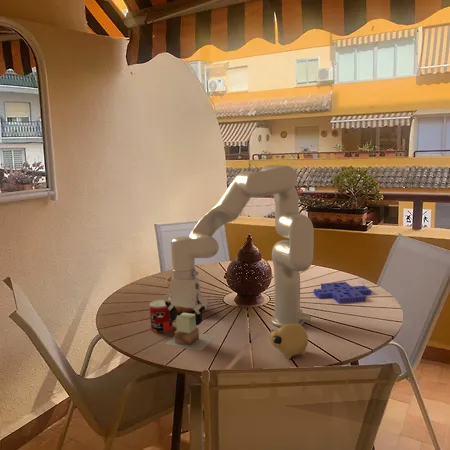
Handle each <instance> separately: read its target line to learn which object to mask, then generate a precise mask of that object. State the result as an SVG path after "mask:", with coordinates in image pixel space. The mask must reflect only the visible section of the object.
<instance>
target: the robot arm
mask: <svg viewBox="0 0 450 450" xmlns="http://www.w3.org/2000/svg"><path fill="white" fill-rule="evenodd" d="M297 182H298V173H297V171H296V170H295V168H293V167H292V166H290V165H281V164H280V165H279V164H268V165H265V166H264V167H262V168H261V170H260V171H259V170H258V171H251V170H244V171H241V172H238V174H237V175H236V176H234V178H233V180H231V182H230V184H229V185H228V187H227V188H226V190H225V191H224V192H223V195H222V196H220V199H219V200H218V202H217V203H216V204H215V206H213V207H212V208H210V209H209V210H208V211H207V213H205V214H204V215H203V216H202V217H201V218H200V219H199V220H198V222H197V223H196V225H195V226H194V228H193V229H192V230H191V232H190V234H189V236H177V237H174V238H173V239H172V240H171V241H170V242H171V243H170V245H171V246H170V247H171V248H170V249H171V251H170V252H171V267H172V268H171V269H172V275H173V277H172V278H171V284H170V290H169V293H167V294H164V295H163V296H162V300H164V302H165V305H166V306H167V307H168V310H170V318H171V321H172V323H173V322H175V321H176V317H178V313H177V309H176V308H175V306H179V307H186V308H193V309H194V312H195V313H194V314H195V320H196V325H197V326H199V325H200V324H201V323H202V322H203V312H204V311H205V310H206V309H207V307H208V304H209V303H210V302H209V300H208V299H206V298H205V297H203V296H202V294H201V293H202V292H201V287H200V285H201V284H200V282H199V278H198V276H199V272H198V271H196V265H195V264H196V263H195V261H196V260H195V259H210V258H213V257H214V256H215V255H217V253H218V252H219V249H220V246H219V242H218V241H217V240H216V239H215V238H214V237H213V235H215V233H216V232H217V231H218V230H219V229H220V228H221V227H222V226H224V225H226V224H228V223H231V222H233V221H235V220H237V218H239V216H240V215H241V213H242V211H243V210H244V208H245V207H246V206H247V204H248V203H249V201H250V200H251V198H261V197H267V196H271V195H272V196H273V199H274V206H275V208H274V211H275V212H274V218H275V219H274V225H275V226H274V227H275V232H276V234H278V235H279V236H280V237H283V238H286V239H282V240H279V241H277V242H275V244H274V245H273V246H272V251H271V260H272V264H273V265H272V266H273V273H274V315H272V316H271V318H270V322H271V324H272V325H274V326H276V327H278V328H280V327H282V326H284V325H287V324H292V323H297V324H300V325H301V326H302V325H304V324H305V322H311V321H312V316H311V315H310V314H308V313H304V312H303V309H302V308H301V276H300V272H301V273H302V272H305V271H307V270H309V268H310V267H311V266H312V263H313V261H314V250H315V249H314V247H315V246H314V245H315V242H314V239H315V237H314V236H315V233H314V230H315V229H314V225H313V222H312V220H311V219H310V218H309V216H307V215H304V214H302V213H300V207H299V204H300V203H299V195H298V192H297V189H296V184H297ZM168 298H170V301H169V299H168ZM201 304H202V305H201Z"/></svg>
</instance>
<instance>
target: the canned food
mask: <svg viewBox="0 0 450 450" xmlns="http://www.w3.org/2000/svg"><path fill="white" fill-rule="evenodd" d="M149 316H150V331H151V332H152V333H155V334H163V333H168V332H170V331H172V330H173V327H174V326H173V322H172V321H171V318H170V310H168V307H167V306H166V305H165V302H164V300H163V299H156V300H153V301H150V303H149Z"/></svg>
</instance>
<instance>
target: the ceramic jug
mask: <svg viewBox="0 0 450 450" xmlns="http://www.w3.org/2000/svg"><path fill="white" fill-rule="evenodd" d="M172 277H173V274H172V275H170V276H168V277H166V281H165V282H166V285H167V288H168V290H169V291H170V284H171V278H172ZM168 299H169V301H170V297H169V298H168ZM175 308H176V309H177V315H178V314H179V315H181V314H182V313H192V312H195V310H194V309H193V308H186V307H179V306H175Z"/></svg>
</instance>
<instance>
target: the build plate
mask: <svg viewBox="0 0 450 450" xmlns="http://www.w3.org/2000/svg"><path fill="white" fill-rule="evenodd" d="M216 337H217V335H211V334H206V333H200V332H199V339H198V340H197V341H195V342H194V343H193V344H192V345H191V346H190V345H184V344H178V343H175V335H174V336H173V337H171V339H169V340H168V341H167V342H165V343H164V345H165V346H166V345H168V346H173V347H179V348H184V349H190V350H196V351H203V350H204V349H205V348H206V347H207V346H208V345H209V344H211V343H212V342H213V340H215V339H216Z"/></svg>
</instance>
